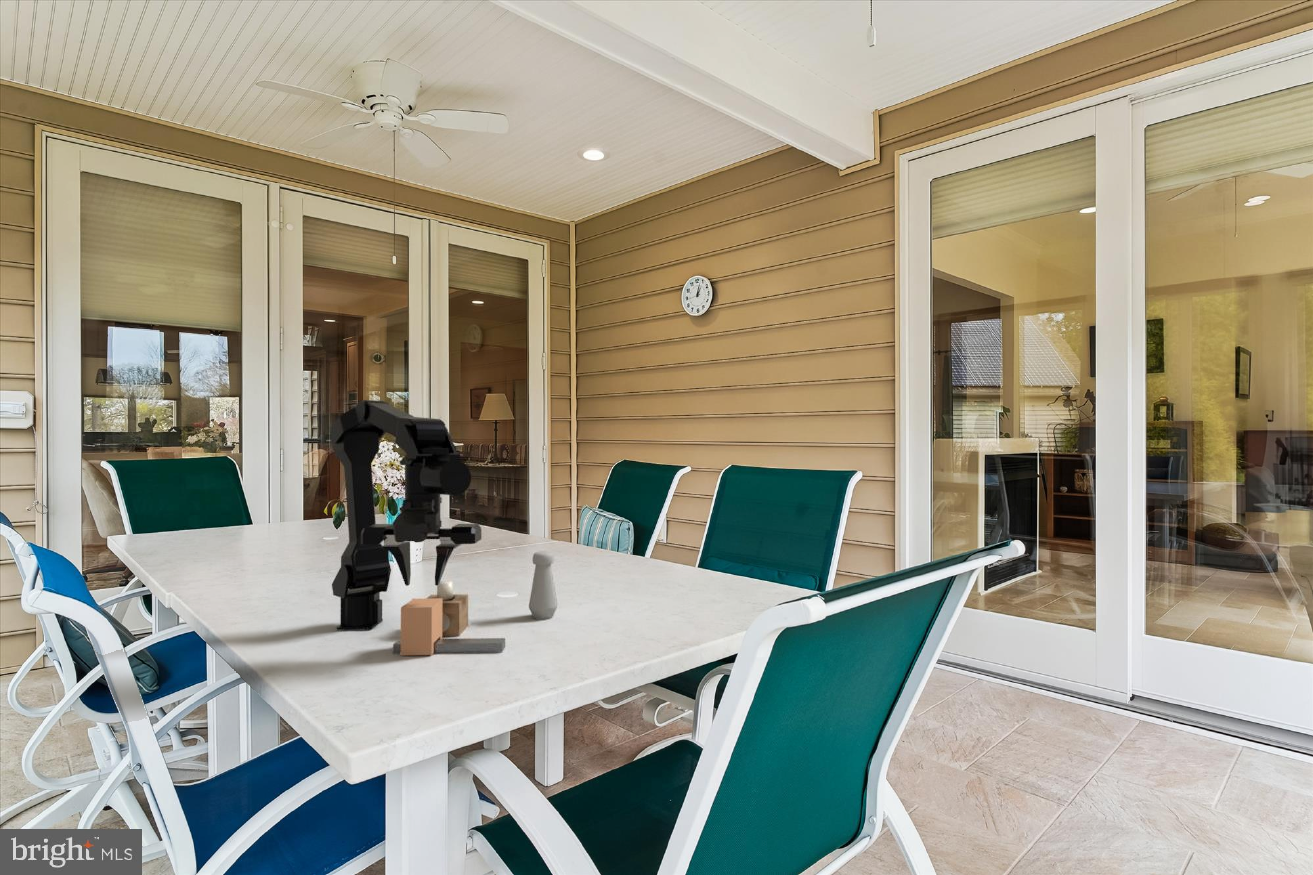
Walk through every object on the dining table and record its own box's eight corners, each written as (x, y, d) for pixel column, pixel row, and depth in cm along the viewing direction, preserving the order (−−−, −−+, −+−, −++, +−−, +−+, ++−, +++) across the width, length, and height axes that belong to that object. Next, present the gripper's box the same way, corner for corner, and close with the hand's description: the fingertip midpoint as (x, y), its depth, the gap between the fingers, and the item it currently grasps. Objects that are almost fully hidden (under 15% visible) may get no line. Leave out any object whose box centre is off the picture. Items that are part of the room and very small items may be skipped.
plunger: (435, 599, 128) (435, 584, 128) (439, 596, 131) (439, 580, 131) (450, 599, 128) (450, 583, 128) (454, 596, 131) (454, 580, 131)
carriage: (400, 655, 114) (400, 607, 114) (413, 643, 120) (413, 598, 120) (431, 654, 114) (431, 607, 114) (442, 643, 121) (442, 598, 121)
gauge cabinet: (419, 636, 125) (419, 603, 125) (431, 625, 133) (431, 594, 133) (458, 636, 126) (459, 603, 126) (468, 625, 133) (468, 594, 133)
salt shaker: (560, 613, 142) (561, 550, 143) (554, 620, 137) (554, 554, 137) (532, 612, 143) (533, 549, 143) (525, 619, 137) (525, 554, 137)
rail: (393, 653, 116) (393, 644, 116) (399, 647, 119) (399, 639, 119) (502, 652, 116) (502, 643, 116) (505, 646, 119) (505, 638, 119)
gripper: (347, 496, 109) (346, 596, 109) (467, 496, 110) (467, 595, 110) (373, 491, 120) (372, 581, 120) (482, 491, 121) (482, 581, 121)
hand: (422, 585), depth 117 cm, fingers open, 5 cm apart
